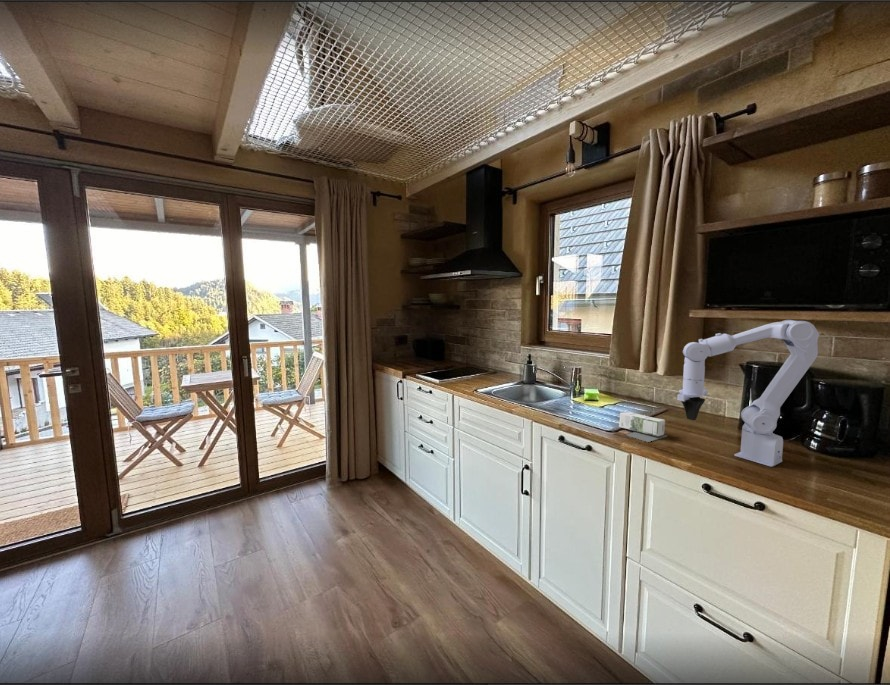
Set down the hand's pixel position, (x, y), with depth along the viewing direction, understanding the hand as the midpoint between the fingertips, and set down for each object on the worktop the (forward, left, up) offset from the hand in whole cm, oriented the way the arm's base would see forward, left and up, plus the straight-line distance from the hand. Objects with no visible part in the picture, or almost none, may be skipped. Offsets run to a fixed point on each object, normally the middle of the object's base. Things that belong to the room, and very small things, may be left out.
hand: (691, 419), depth 119 cm
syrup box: (+11, -3, -7) cm, 13 cm away
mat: (+15, 0, -10) cm, 18 cm away
